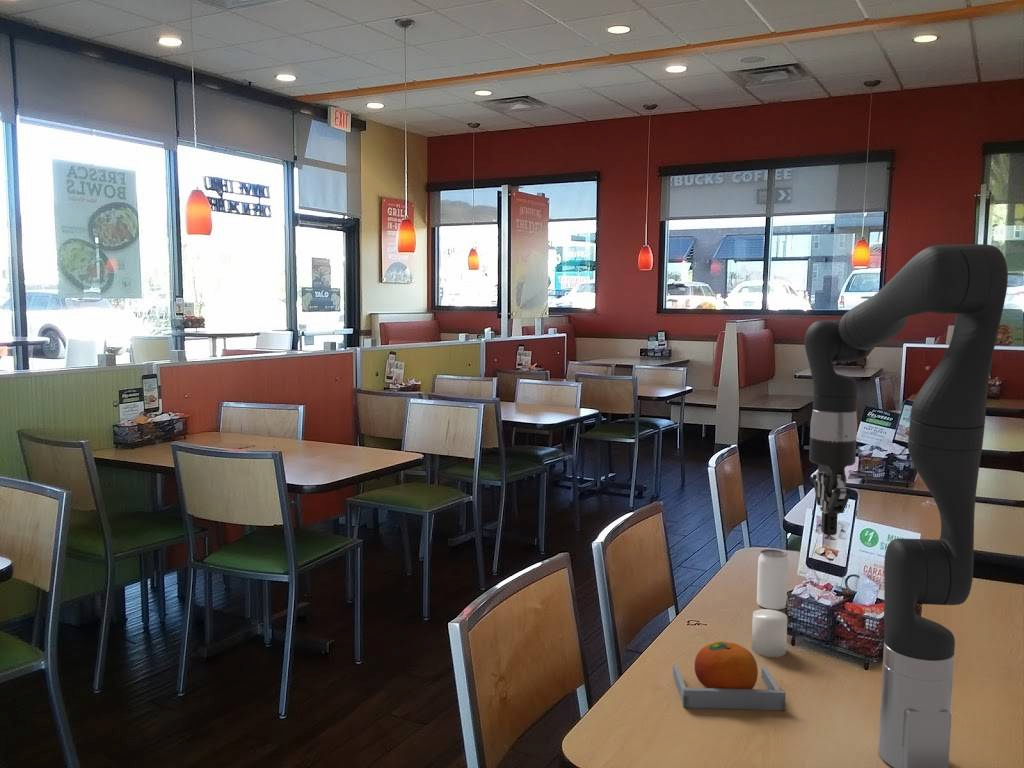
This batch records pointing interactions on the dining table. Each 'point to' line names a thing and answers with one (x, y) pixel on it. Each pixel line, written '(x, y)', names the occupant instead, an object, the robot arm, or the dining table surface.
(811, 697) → the dining table surface
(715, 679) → the fruit
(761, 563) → the can
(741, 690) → the grey u-shaped bracket
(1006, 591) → the dining table surface
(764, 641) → the white rounded cube
